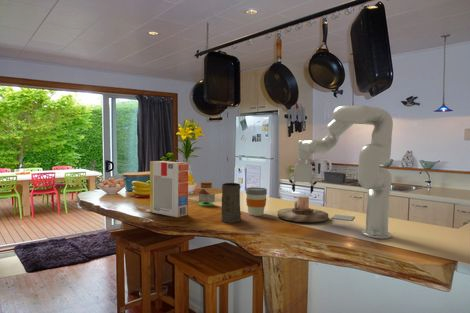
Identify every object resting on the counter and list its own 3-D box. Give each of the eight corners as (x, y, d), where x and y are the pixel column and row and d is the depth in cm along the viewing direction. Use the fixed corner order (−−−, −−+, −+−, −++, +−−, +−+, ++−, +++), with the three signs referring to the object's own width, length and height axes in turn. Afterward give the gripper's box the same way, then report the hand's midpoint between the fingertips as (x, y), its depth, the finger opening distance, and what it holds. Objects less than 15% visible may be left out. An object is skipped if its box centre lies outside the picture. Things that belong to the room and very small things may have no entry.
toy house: (193, 203, 228) (193, 181, 227) (211, 202, 233) (211, 181, 232) (199, 206, 217) (199, 183, 216) (217, 205, 222) (217, 183, 222)
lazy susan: (333, 214, 194) (333, 203, 194) (320, 224, 170) (320, 212, 170) (287, 209, 208) (288, 199, 208) (269, 217, 184) (270, 206, 184)
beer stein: (238, 223, 173) (239, 185, 172) (218, 222, 175) (219, 184, 174) (244, 217, 188) (244, 182, 187) (225, 216, 190) (226, 181, 190)
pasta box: (187, 214, 192) (188, 162, 191) (177, 217, 186) (178, 163, 184) (159, 209, 205) (160, 160, 204) (149, 211, 199) (150, 161, 197)
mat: (351, 221, 184) (351, 220, 184) (331, 218, 189) (331, 217, 189) (354, 217, 194) (354, 216, 194) (335, 215, 199) (335, 214, 199)
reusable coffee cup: (255, 217, 189) (255, 190, 189) (240, 213, 199) (241, 188, 198) (270, 214, 197) (271, 189, 197) (256, 210, 207) (256, 186, 206)
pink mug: (295, 211, 192) (295, 196, 191) (305, 211, 193) (306, 196, 192) (301, 215, 183) (301, 198, 183) (312, 214, 184) (312, 198, 184)
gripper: (320, 162, 189) (318, 192, 190) (289, 160, 194) (288, 190, 195) (319, 163, 182) (317, 194, 183) (287, 161, 187) (286, 191, 188)
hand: (302, 192), depth 189 cm, fingers open, 9 cm apart
